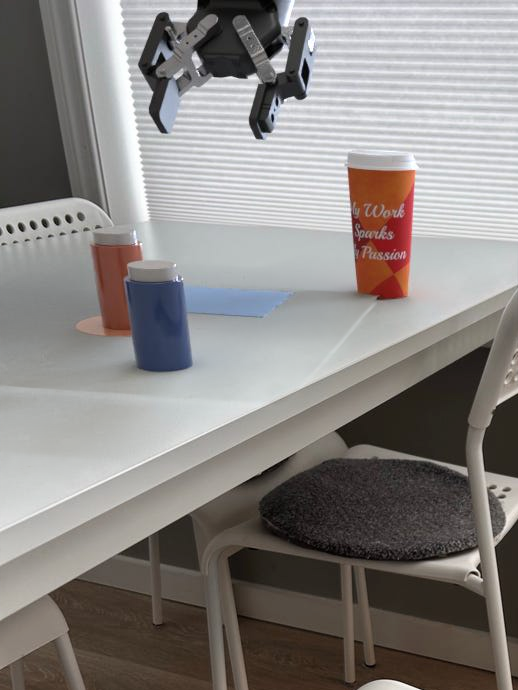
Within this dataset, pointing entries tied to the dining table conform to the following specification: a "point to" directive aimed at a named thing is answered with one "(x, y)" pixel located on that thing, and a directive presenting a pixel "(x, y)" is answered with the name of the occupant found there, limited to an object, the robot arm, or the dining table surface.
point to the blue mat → (232, 301)
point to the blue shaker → (158, 316)
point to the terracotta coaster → (100, 328)
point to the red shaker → (113, 272)
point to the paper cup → (382, 219)
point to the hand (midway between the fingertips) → (208, 129)
